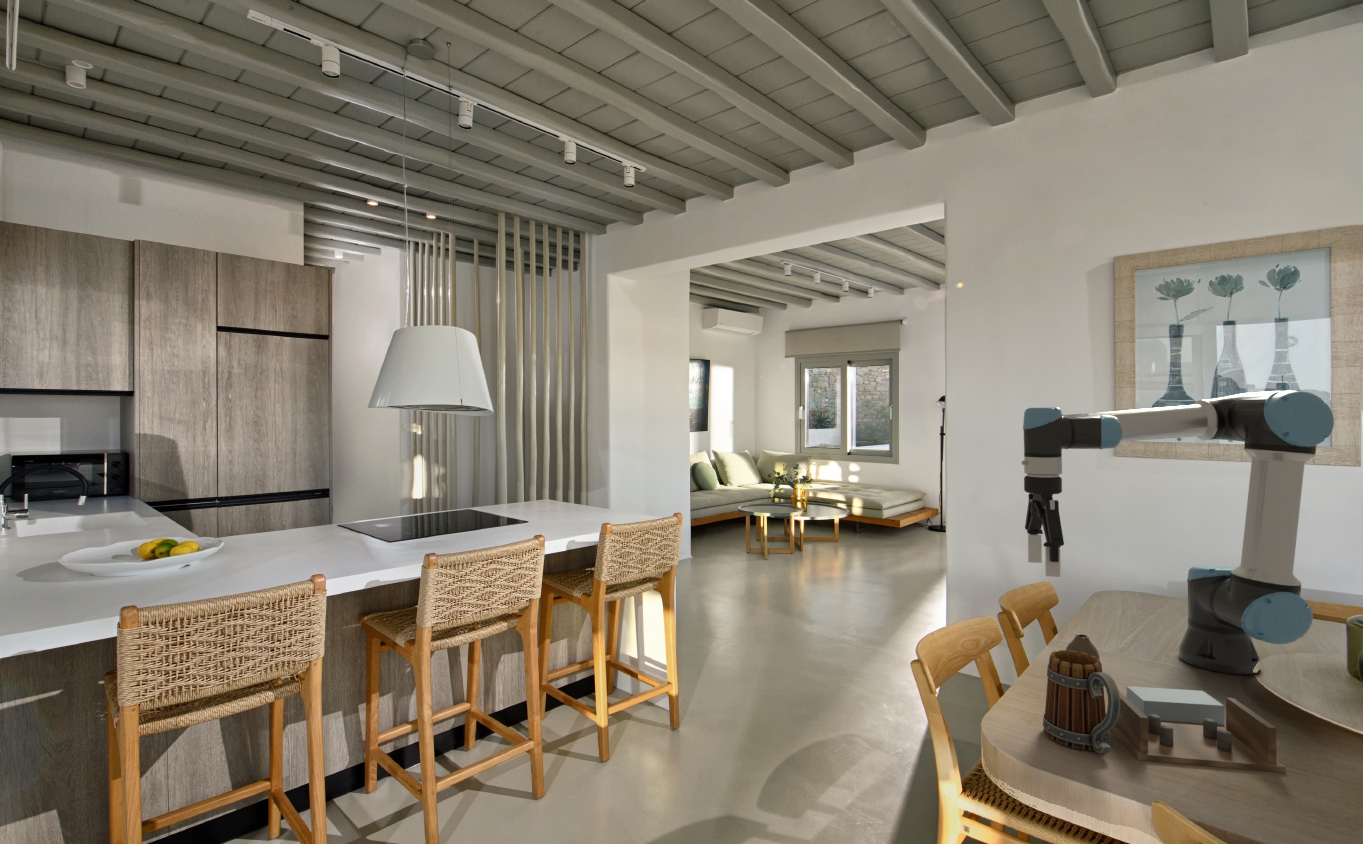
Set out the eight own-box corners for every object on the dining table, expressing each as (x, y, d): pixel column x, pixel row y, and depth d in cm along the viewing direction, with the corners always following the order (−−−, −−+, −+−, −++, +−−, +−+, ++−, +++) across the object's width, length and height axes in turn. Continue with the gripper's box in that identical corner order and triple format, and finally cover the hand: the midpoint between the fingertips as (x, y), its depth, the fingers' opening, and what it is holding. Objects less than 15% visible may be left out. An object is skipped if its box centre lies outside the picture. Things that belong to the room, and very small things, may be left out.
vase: (1105, 680, 150) (1105, 641, 149) (1071, 678, 151) (1071, 639, 151) (1092, 668, 156) (1092, 631, 156) (1060, 666, 158) (1060, 630, 158)
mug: (1030, 726, 128) (1030, 648, 128) (1082, 723, 129) (1082, 646, 129) (1086, 769, 113) (1086, 681, 112) (1145, 766, 114) (1145, 678, 113)
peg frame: (1235, 733, 125) (1235, 696, 125) (1285, 773, 111) (1286, 731, 111) (1104, 722, 129) (1104, 687, 129) (1137, 759, 116) (1137, 719, 115)
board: (1202, 710, 135) (1202, 690, 135) (1224, 726, 128) (1224, 705, 128) (1126, 705, 138) (1126, 686, 138) (1143, 720, 131) (1143, 700, 131)
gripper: (1010, 470, 164) (1011, 556, 164) (1040, 480, 139) (1041, 581, 140) (1044, 470, 162) (1045, 557, 162) (1080, 481, 138) (1081, 583, 138)
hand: (1043, 569), depth 151 cm, fingers open, 13 cm apart
